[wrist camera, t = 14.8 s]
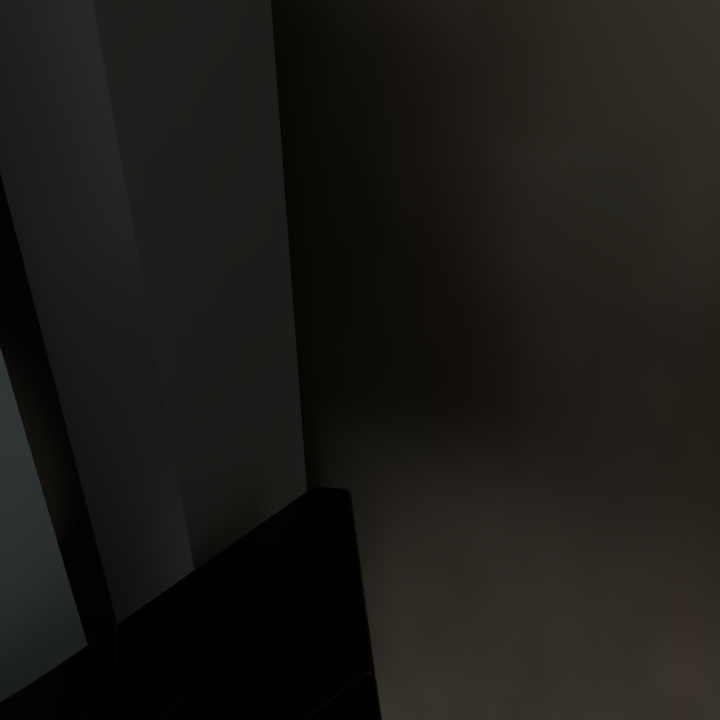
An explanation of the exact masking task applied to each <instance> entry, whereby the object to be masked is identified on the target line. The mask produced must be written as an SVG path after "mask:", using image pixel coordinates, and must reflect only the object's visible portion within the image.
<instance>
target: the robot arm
mask: <svg viewBox="0 0 720 720" xmlns="http://www.w3.org/2000/svg"><path fill="white" fill-rule="evenodd" d="M0 720H382V716H381V711H380V703H379V696H378V689H377V681H376V678H375V669H374V662H373V654H372V647H371V639H370V632H369V625H368V617H367V610H366V602H365V595H364V588H363V580H362V573H361V565H360V558H359V551H358V543H357V536H356V529H355V521H354V514H353V506H352V499H351V493H350V491H349V490H346V489H338V488H329V487H320V486H315V487H313V488H311V489H309V490H308V491H306V492H305V493H304V494H302V495H301V496H299V497H298V498H296V499H295V500H294V501H292V502H291V503H289V504H288V505H286V506H285V507H284V508H282V509H281V510H279V511H278V512H276V513H275V514H274V515H272V516H271V517H269V518H268V519H266V520H265V521H264V522H262V523H261V524H259V525H258V526H257V527H255V528H254V529H252V530H251V531H249V532H248V533H247V534H245V535H244V536H242V537H241V538H239V539H238V540H237V541H235V542H234V543H232V544H231V545H229V546H228V547H227V548H225V549H224V550H222V551H221V552H219V553H218V554H217V555H215V556H214V557H212V558H211V559H209V560H208V561H207V562H205V563H204V564H202V565H201V566H199V567H198V568H197V569H195V570H194V571H192V572H191V573H189V574H188V575H187V576H185V577H184V578H182V579H181V580H179V581H178V582H177V583H175V584H174V585H172V586H171V587H169V588H168V589H167V590H165V591H164V592H162V593H161V594H160V595H158V596H157V597H155V598H154V599H152V600H151V601H150V602H148V603H147V604H145V605H144V606H142V607H141V608H140V609H138V610H137V611H135V612H134V613H132V614H131V615H130V616H128V617H127V618H125V619H124V620H122V621H121V622H120V623H118V624H117V625H116V627H115V631H114V630H113V629H110V630H108V631H106V632H105V633H104V634H102V635H101V636H99V637H98V638H96V639H95V640H94V641H92V642H91V643H89V644H88V645H86V646H85V647H84V648H82V649H81V650H79V651H78V652H76V653H75V654H73V655H72V656H70V657H69V658H67V659H66V660H64V661H63V662H61V663H60V664H58V665H57V666H55V667H54V668H52V669H51V670H49V671H48V672H46V673H45V674H43V675H42V676H40V677H39V678H38V679H36V680H35V681H33V682H31V683H30V684H28V685H27V686H25V687H23V688H22V689H20V690H19V691H17V692H15V693H14V694H12V695H11V696H9V697H7V698H6V699H4V700H3V701H1V702H0Z"/></svg>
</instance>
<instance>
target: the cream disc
mask: <svg viewBox="0 0 720 720" xmlns="http://www.w3.org/2000/svg"><path fill="white" fill-rule="evenodd" d="M0 348H1V352H2V355H3V358H4V362H5V365H6V369H7V372H8V375H9V379H10V382H11V386H12V389H13V393H14V396H15V399H16V403H17V406H18V410H19V413H20V416H21V420H22V423H23V427H24V430H25V433H26V437H27V440H28V444H29V447H30V450H31V454H32V457H33V461H34V464H35V467H36V471H37V474H38V478H39V481H40V485H41V488H42V491H43V495H44V498H45V502H46V505H47V508H48V512H49V515H50V519H51V522H52V525H53V529H54V532H55V536H56V539H57V542H58V546H59V547H60V546H61V545H62V544H63V543H64V542H65V541H66V539H67V538H68V537H69V536H70V534H71V533H72V532H73V530H74V528H75V526H76V524H77V522H78V520H79V518H80V516H81V513H82V509H83V506H84V503H85V498H84V494H83V490H82V486H81V482H80V479H79V475H78V471H77V467H76V463H75V459H74V455H73V452H72V448H71V444H70V440H69V436H68V432H67V429H66V425H65V421H64V417H63V413H62V409H61V405H60V402H59V398H58V394H57V390H56V386H55V382H54V379H53V375H52V374H51V373H50V371H49V370H48V368H47V367H46V366H45V364H44V363H43V361H42V360H41V359H40V357H39V356H38V354H37V353H36V352H35V351H34V350H33V349H32V347H31V346H30V345H29V344H28V343H27V342H26V340H25V339H24V338H23V337H22V336H21V335H20V334H19V332H17V331H16V330H15V329H14V328H13V327H12V326H11V325H10V324H9V323H8V322H7V321H6V320H5V319H4V318H3V317H2V316H1V315H0Z"/></svg>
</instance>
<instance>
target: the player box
mask: <svg viewBox="0 0 720 720" xmlns="http://www.w3.org/2000/svg"><path fill="white" fill-rule="evenodd" d="M86 645H87V641H86V638H85V634H84V631H83V628H82V624H81V621H80V617H79V614H78V611H77V607H76V604H75V600H74V597H73V594H72V590H71V587H70V583H69V580H68V576H67V573H66V570H65V566H64V563H63V559H62V556H61V553H60V549H59V546H58V542H57V539H56V536H55V532H54V529H53V525H52V522H51V519H50V515H49V512H48V508H47V505H46V502H45V498H44V495H43V491H42V488H41V485H40V481H39V478H38V474H37V471H36V467H35V464H34V461H33V457H32V454H31V450H30V447H29V444H28V440H27V437H26V433H25V430H24V427H23V423H22V420H21V416H20V413H19V410H18V406H17V403H16V399H15V396H14V393H13V389H12V386H11V382H10V379H9V375H8V372H7V369H6V365H5V362H4V358H3V355H2V352H1V348H0V702H1V701H3V700H4V699H6V698H7V697H9V696H11V695H12V694H14V693H15V692H17V691H19V690H20V689H22V688H23V687H25V686H27V685H28V684H30V683H31V682H33V681H35V680H36V679H38V678H39V677H40V676H42V675H43V674H45V673H46V672H48V671H49V670H51V669H52V668H54V667H55V666H57V665H58V664H60V663H61V662H63V661H64V660H66V659H67V658H69V657H70V656H72V655H73V654H75V653H76V652H78V651H79V650H81V649H82V648H84V647H85V646H86Z"/></svg>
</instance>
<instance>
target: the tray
mask: <svg viewBox="0 0 720 720" xmlns="http://www.w3.org/2000/svg"><path fill="white" fill-rule="evenodd" d="M0 315H1V316H2V317H3V318H4V319H5V320H6V321H7V322H8V323H9V324H10V325H11V326H12V327H13V328H14V329H15V330H16V331H17V332H19V334H20V335H21V336H22V337H23V338H24V339H25V340H26V342H27V343H28V344H29V345H30V346H31V347H32V349H33V350H34V351H35V352H36V353H37V354H38V356H39V357H40V359H41V360H42V361H43V363H44V364H45V366H46V367H47V368H48V370H49V371H50V373H51V374H52V375H53V379H54V382H55V386H56V390H57V394H58V398H59V402H60V405H61V409H62V413H63V417H64V421H65V425H66V429H67V432H68V436H69V440H70V444H71V448H72V452H73V455H74V459H75V463H76V467H77V471H78V475H79V479H80V482H81V486H82V490H83V494H84V498H85V503H84V506H83V509H82V513H81V516H80V518H79V520H78V522H77V524H76V526H75V528H74V530H73V532H72V533H71V534H70V536H69V537H68V538H67V539H66V541H65V542H64V543H63V544H62V545H61V546H60V547H59V549H60V553H61V556H62V559H63V563H64V566H65V570H66V573H67V576H68V580H69V583H70V587H71V590H72V594H73V597H74V600H75V604H76V607H77V611H78V614H79V617H80V621H81V624H82V628H83V631H84V634H85V638H86V641H87V645H88V644H89V643H91V642H92V641H94V640H95V639H96V638H98V637H99V636H101V635H102V634H104V633H105V632H106V631H108V630H110V629H113V630H114V631H115V627H116V625H117V624H118V623H120V622H121V621H122V620H124V619H125V618H127V617H128V616H130V615H131V614H132V613H134V612H135V611H137V610H138V609H140V608H141V607H142V606H144V605H145V604H147V603H148V602H150V601H151V600H152V599H154V598H155V597H157V596H158V595H160V594H161V593H162V592H164V591H165V590H167V589H168V588H169V587H171V586H172V585H174V584H175V583H177V582H178V581H179V580H181V579H182V578H184V577H185V576H187V575H188V574H189V573H191V572H192V571H194V570H195V569H197V568H198V567H199V566H201V565H202V564H204V563H205V562H207V561H208V560H209V559H211V558H212V557H214V556H215V555H217V554H218V553H219V552H221V551H222V550H224V549H225V548H227V547H228V546H229V545H231V544H232V543H234V542H235V541H237V540H238V539H239V538H241V537H242V536H244V535H245V534H247V533H248V532H249V531H251V530H252V529H254V528H255V527H257V526H258V525H259V524H261V523H262V522H264V521H265V520H266V519H268V518H269V517H271V516H272V515H274V514H275V513H276V512H278V511H279V510H281V509H282V508H284V507H285V506H286V505H288V504H289V503H291V502H292V501H294V500H295V499H296V498H298V497H299V496H301V495H302V494H304V493H305V492H306V491H307V486H306V472H305V459H304V445H303V432H302V418H301V404H300V391H299V377H298V363H297V350H296V336H295V323H294V309H293V295H292V282H291V268H290V255H289V241H288V227H287V214H286V200H285V187H284V173H283V159H282V146H281V132H280V119H279V105H278V91H277V78H276V64H275V50H274V37H273V23H272V10H271V0H0Z"/></svg>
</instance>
